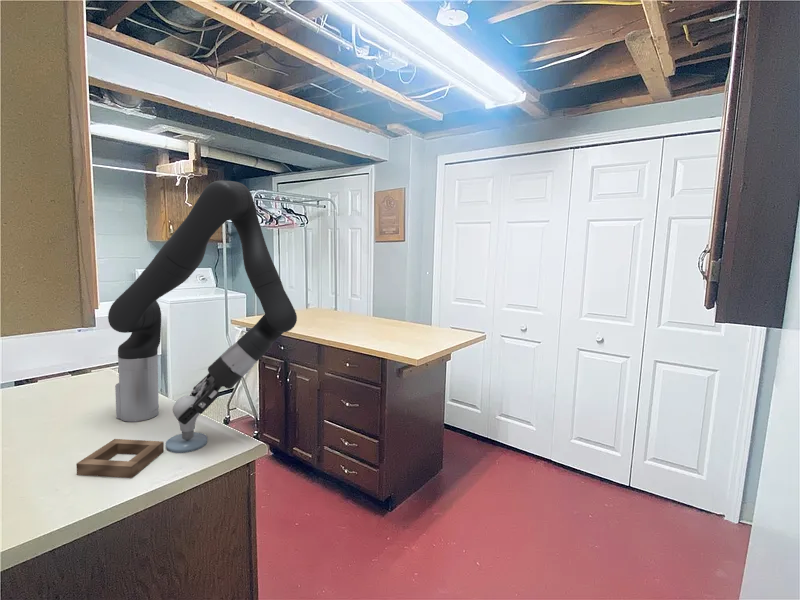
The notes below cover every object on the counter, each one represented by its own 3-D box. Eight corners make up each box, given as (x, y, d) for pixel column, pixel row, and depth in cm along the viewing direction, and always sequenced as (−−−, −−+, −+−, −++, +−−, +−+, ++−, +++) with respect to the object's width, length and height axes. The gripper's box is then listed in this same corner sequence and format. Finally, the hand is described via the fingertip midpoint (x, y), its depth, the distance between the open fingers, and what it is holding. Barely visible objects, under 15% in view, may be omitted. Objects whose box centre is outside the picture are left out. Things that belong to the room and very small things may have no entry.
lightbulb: (207, 438, 105) (206, 395, 103) (183, 448, 99) (182, 402, 98) (191, 432, 108) (190, 390, 107) (168, 441, 102) (167, 397, 101)
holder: (76, 475, 88) (76, 463, 88) (114, 449, 100) (114, 438, 99) (132, 478, 88) (131, 466, 88) (163, 451, 99) (163, 441, 99)
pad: (157, 451, 99) (157, 447, 99) (178, 435, 108) (178, 431, 108) (196, 454, 99) (196, 449, 99) (213, 437, 108) (213, 433, 108)
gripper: (220, 348, 111) (170, 395, 107) (222, 362, 98) (166, 417, 94) (242, 366, 114) (194, 413, 110) (247, 383, 101) (193, 436, 97)
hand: (181, 415), depth 102 cm, fingers open, 8 cm apart
